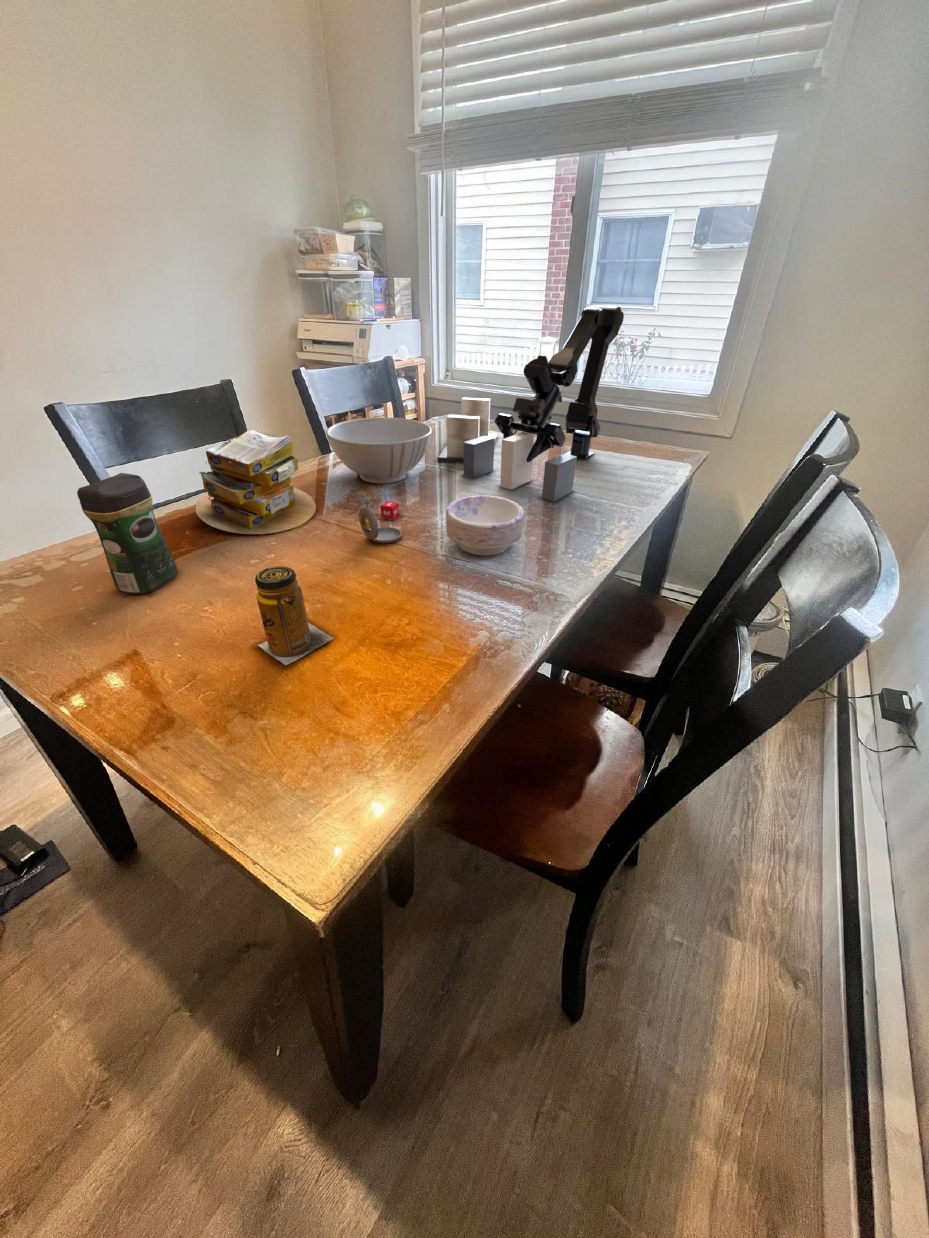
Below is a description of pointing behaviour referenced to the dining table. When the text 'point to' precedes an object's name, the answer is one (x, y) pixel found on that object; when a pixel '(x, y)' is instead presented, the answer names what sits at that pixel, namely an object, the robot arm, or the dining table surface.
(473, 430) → the book rack
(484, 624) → the dining table surface
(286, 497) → the stacked yellow boxes
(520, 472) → the white book
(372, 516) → the pocket watch
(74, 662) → the dining table surface
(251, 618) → the dining table surface
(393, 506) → the dice
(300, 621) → the condiment
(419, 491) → the dining table surface
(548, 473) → the gray bookends
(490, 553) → the cream and purple bowl
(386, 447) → the decorative bowl
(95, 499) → the coffee jar
